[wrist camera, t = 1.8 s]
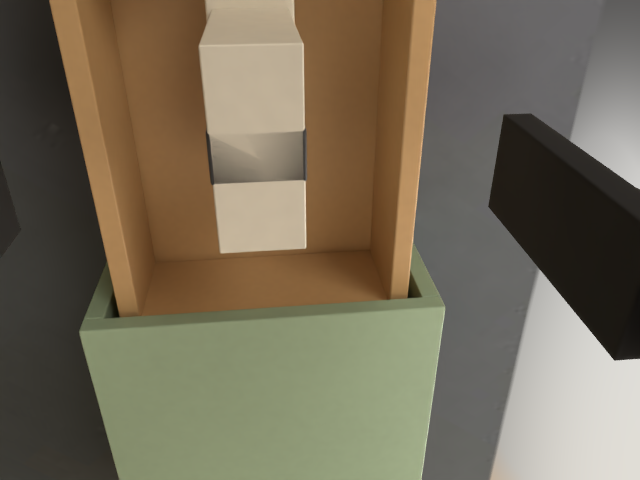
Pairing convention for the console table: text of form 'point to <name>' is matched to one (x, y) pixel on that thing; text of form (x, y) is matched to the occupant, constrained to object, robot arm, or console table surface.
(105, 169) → the drawer
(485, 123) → the console table surface
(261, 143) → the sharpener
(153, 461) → the cabinet
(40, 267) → the console table surface
